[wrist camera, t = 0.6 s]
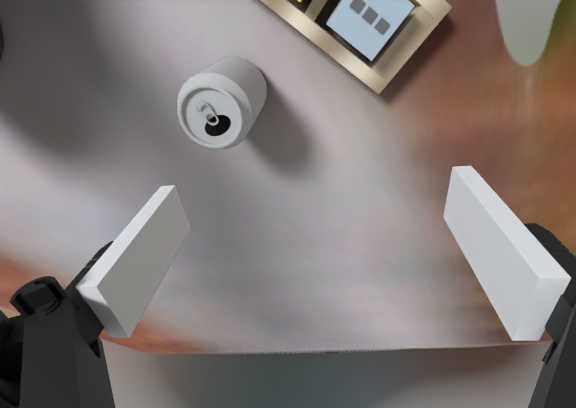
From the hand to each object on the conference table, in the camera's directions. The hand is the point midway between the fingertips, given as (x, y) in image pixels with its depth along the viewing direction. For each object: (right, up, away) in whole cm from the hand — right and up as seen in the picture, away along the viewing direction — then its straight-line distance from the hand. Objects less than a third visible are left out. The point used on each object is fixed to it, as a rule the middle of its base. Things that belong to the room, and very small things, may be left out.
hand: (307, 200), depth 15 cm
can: (-7, +14, +24) cm, 29 cm away
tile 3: (+7, +19, +16) cm, 26 cm away
